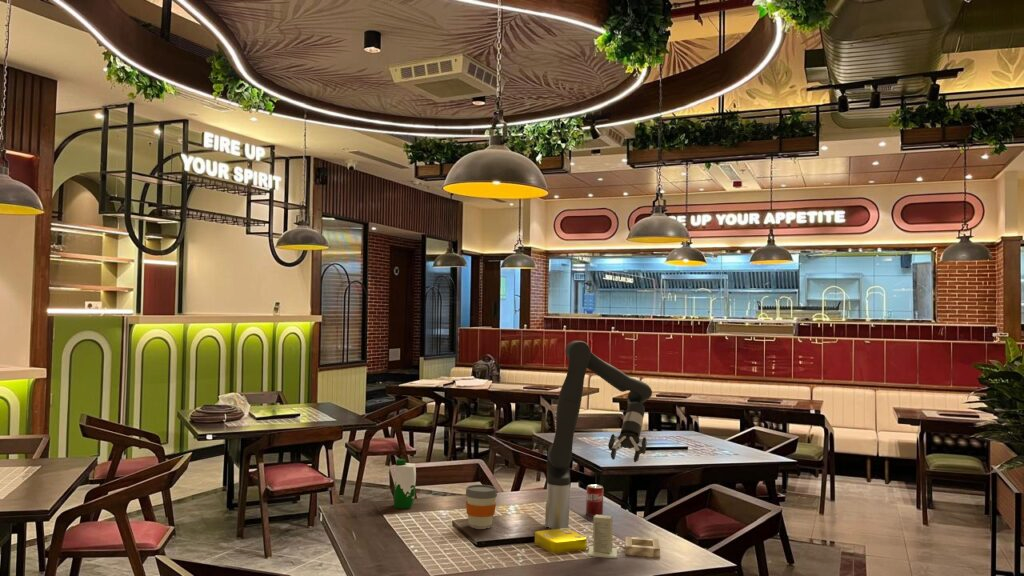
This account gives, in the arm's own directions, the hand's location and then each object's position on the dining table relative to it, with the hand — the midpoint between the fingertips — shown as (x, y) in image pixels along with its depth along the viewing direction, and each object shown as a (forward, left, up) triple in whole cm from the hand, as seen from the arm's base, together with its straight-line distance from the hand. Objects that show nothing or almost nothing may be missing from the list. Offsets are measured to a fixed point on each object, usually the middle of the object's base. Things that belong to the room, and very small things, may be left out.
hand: (623, 459), depth 271 cm
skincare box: (-7, -16, -30) cm, 35 cm away
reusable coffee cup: (-56, +5, -31) cm, 64 cm away
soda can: (-12, +37, -31) cm, 50 cm away
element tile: (-22, -11, -31) cm, 40 cm away
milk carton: (-94, +26, -31) cm, 102 cm away
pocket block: (+7, -10, -31) cm, 33 cm away
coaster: (-7, -16, -31) cm, 35 cm away
